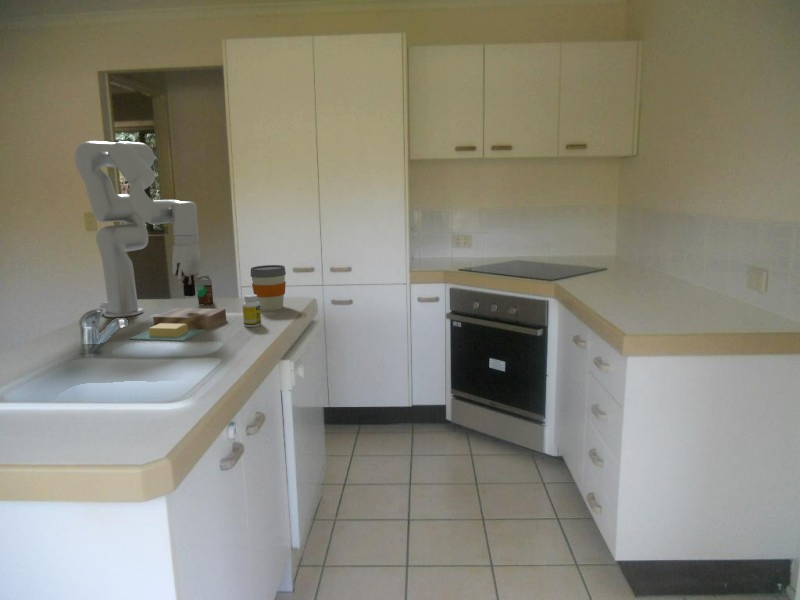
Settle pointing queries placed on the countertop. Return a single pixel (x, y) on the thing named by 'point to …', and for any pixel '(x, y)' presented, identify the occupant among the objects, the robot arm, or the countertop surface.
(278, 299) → the reusable coffee cup
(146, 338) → the mat
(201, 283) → the food container
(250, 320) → the supplement bottle
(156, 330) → the yellow sponge
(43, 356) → the countertop surface
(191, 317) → the brown wooden block
